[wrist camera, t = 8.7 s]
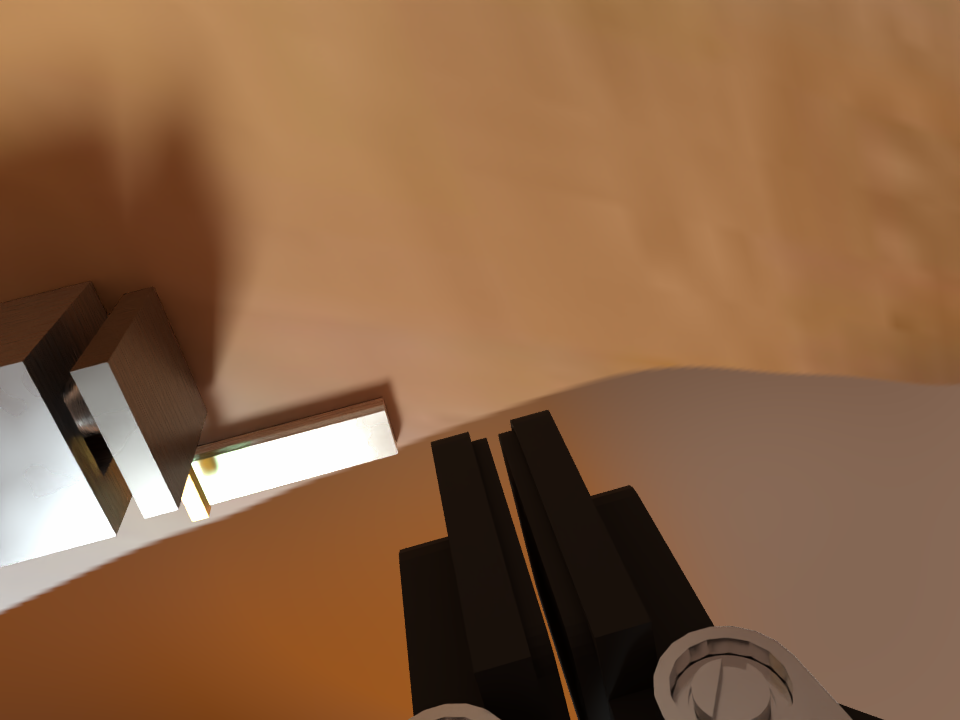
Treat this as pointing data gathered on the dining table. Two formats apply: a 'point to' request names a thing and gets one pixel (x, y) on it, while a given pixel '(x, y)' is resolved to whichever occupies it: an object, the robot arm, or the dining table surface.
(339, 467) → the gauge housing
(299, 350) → the dining table surface
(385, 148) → the dining table surface
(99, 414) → the plunger
